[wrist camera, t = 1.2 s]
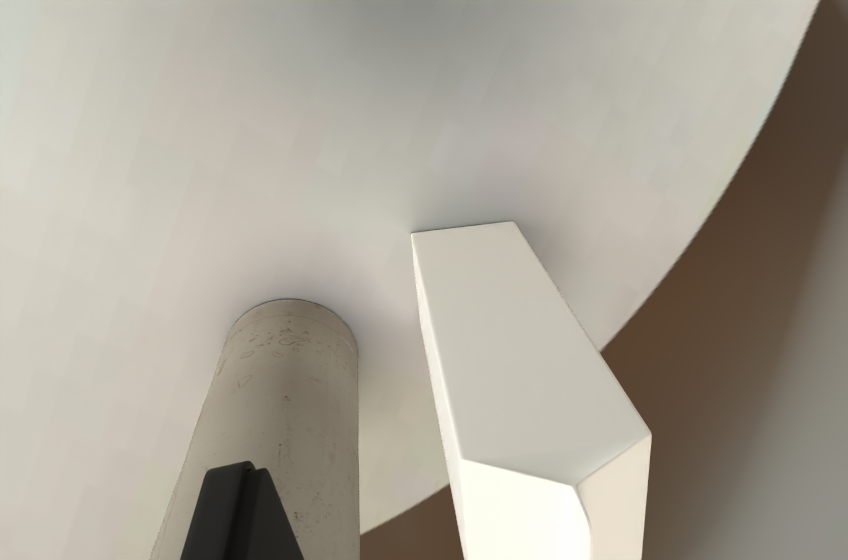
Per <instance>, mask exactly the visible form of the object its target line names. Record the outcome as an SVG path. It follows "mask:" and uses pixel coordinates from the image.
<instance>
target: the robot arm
mask: <svg viewBox="0 0 848 560" xmlns="http://www.w3.org/2000/svg"><path fill="white" fill-rule="evenodd" d="M180 560H304V557H303V555H302V552H301V550H300V547H299V545H298V542H297V540H296V537H295V535H294V532H293V530H292V527H291V525H290V522H289V520H288V517H287V515H286V512H285V510H284V507H283V505H282V502H281V500H280V497H279V495H278V492H277V490H276V487H275V485H274V483H273V480H272V478H271V475H270V473H269V471H268V470H267V469H266V468H261V469H256V468H255V466H254V464H253V463H252V462H251V461H243V462H239V463H234V464H230V465H225V466H221V467H216V468H212V469H209V470H208V471H207V472H206V474H205V476H204V479H203V483H202V486H201V490H200V493H199V496H198V500H197V503H196V507H195V510H194V513H193V517H192V520H191V524H190V527H189V530H188V534H187V537H186V541H185V544H184V547H183V551H182V554H181V558H180Z"/></svg>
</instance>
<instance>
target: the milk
mask: <svg viewBox="0 0 848 560" xmlns="http://www.w3.org/2000/svg"><path fill="white" fill-rule="evenodd" d="M411 241H412V250H413V260H414V269H415V279H416V288H417V298H418V307H419V317H420V325H421V330H422V336H423V341H424V347H425V352H426V357H427V363H428V368H429V373H430V379H431V384H432V389H433V395H434V400H435V405H436V411H437V416H438V421H439V427H440V432H441V437H442V443H443V448H444V453H445V459H446V464H447V469H448V475H449V480H450V485H451V491H452V495H453V501H454V507H455V512H456V517H457V523H458V528H459V534H460V539H461V544H462V550H463V555H464V559H465V560H641V555H642V543H643V531H644V519H645V508H646V497H647V484H648V473H649V461H650V449H651V436H652V435H651V432H650V430H649V429H648V427H647V425H646V424H645V422H644V421H643V419H642V418H641V416H640V415H639V413H638V412H637V410H636V409H635V407H634V405H633V404H632V402H631V401H630V399H629V398H628V396H627V395H626V393H625V392H624V390H623V388H622V387H621V385H620V384H619V382H618V381H617V379H616V378H615V376H614V375H613V373H612V371H611V370H610V368H609V367H608V365H607V364H606V362H605V361H604V359H603V358H602V356H601V355H600V353H599V351H598V350H597V348H596V347H595V345H594V344H593V342H592V341H591V339H590V338H589V336H588V335H587V333H586V331H585V330H584V328H583V327H582V325H581V324H580V322H579V321H578V319H577V318H576V316H575V314H574V313H573V311H572V310H571V308H570V307H569V305H568V304H567V302H566V301H565V299H564V298H563V296H562V294H561V293H560V291H559V290H558V288H557V287H556V285H555V284H554V282H553V281H552V279H551V277H550V276H549V274H548V273H547V271H546V270H545V268H544V267H543V265H542V264H541V262H540V261H539V259H538V257H537V256H536V254H535V253H534V251H533V250H532V248H531V247H530V245H529V244H528V242H527V240H526V239H525V237H524V236H523V234H522V233H521V231H520V230H519V228H518V227H517V225H516V224H515V222H514V221H510V222H501V223H493V224H484V225H476V226H468V227H459V228H451V229H442V230H434V231H426V232H417V233H412V234H411Z"/></svg>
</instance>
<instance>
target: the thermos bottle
mask: <svg viewBox="0 0 848 560" xmlns="http://www.w3.org/2000/svg"><path fill="white" fill-rule="evenodd" d="M243 461H251V462H252V463H253V464H254V466H255V468H256V469H261V468H266V469H267V470H268V471H269V473H270V475H271V478H272V480H273V483H274V485H275V487H276V490H277V492H278V495H279V497H280V500H281V502H282V505H283V507H284V510H285V512H286V515H287V517H288V520H289V522H290V525H291V527H292V530H293V532H294V535H295V537H296V540H297V542H298V545H299V547H300V550H301V552H302V555H303V557H304V560H360V523H359V459H358V350H357V346H356V342H355V339H354V337H353V335H352V333H351V331H350V329H349V328H348V327H347V326H346V324H345V323H344V322H343V321H342V320H341V319H340V318H339V317H338V316H336V315H335V314H334V313H333V312H331V311H329V310H328V309H326V308H324V307H322V306H320V305H317V304H314V303H311V302H308V301H302V300H296V299H290V300H277V301H271V302H267V303H265V304H262V305H260V306H257V307H255V308H253V309H252V310H250V311H248V312H247V313H245V314H244V315H243V316H242V317H241V318H240V319H239V320H238V321H237V322H236V323H235V324H234V326H233V327H232V329H231V330H230V332H229V334H228V337H227V339H226V342H225V345H224V347H223V350H222V353H221V355H220V358H219V361H218V364H217V367H216V370H215V373H214V377H213V380H212V383H211V385H210V388H209V391H208V393H207V396H206V399H205V402H204V404H203V407H202V410H201V413H200V416H199V419H198V421H197V424H196V427H195V430H194V433H193V436H192V439H191V442H190V445H189V448H188V452H187V455H186V458H185V461H184V464H183V466H182V469H181V472H180V475H179V477H178V480H177V483H176V486H175V488H174V491H173V494H172V496H171V499H170V502H169V504H168V507H167V510H166V512H165V515H164V518H163V521H162V524H161V527H160V529H159V532H158V535H157V538H156V541H155V544H154V547H153V549H152V552H151V555H150V558H149V560H180V558H181V554H182V551H183V547H184V544H185V541H186V537H187V534H188V530H189V527H190V524H191V520H192V517H193V513H194V510H195V507H196V503H197V500H198V496H199V493H200V490H201V486H202V483H203V479H204V476H205V474H206V472H207V471H208V470H209V469H212V468H216V467H221V466H225V465H230V464H234V463H239V462H243Z"/></svg>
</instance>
